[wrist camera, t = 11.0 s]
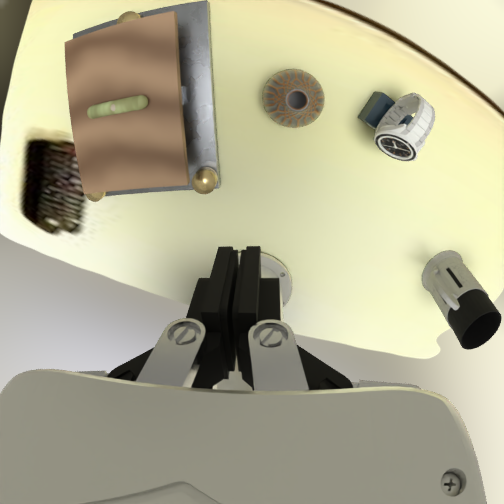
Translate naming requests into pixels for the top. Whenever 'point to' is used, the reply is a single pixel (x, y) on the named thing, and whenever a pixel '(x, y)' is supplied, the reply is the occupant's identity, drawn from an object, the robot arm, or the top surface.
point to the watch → (399, 124)
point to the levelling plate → (135, 130)
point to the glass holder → (461, 299)
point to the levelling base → (187, 96)
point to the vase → (293, 98)
